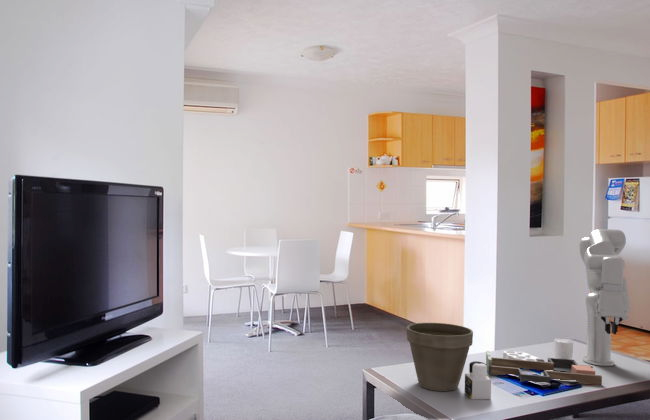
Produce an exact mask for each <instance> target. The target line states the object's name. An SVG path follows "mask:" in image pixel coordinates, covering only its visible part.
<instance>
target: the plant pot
mask: <svg viewBox="0 0 650 420" xmlns="http://www.w3.org/2000/svg"><path fill="white" fill-rule="evenodd" d="M473 337H474V331H473V330H472V329H471V328H469V327H465V326H463V325H458V324H452V323H445V322H444V323H443V322H417V323H412V324H408V325H407V326H406V340H407V341H408V342H409V345H410V351H411V355H412V361H413V364H414V369H415V373H416V377H417V381H418V384H419V386H420V387H422V388H425V389H426V390H429V391H430V390H431V391H436V392H451V391H456V390H457V389H458V387H459V386H460V382H461V378H462V376H463V371H464V368H465V365H466V361H467V357H468V353H469V351H470V347H471V346H473V342H474V341H473Z"/></svg>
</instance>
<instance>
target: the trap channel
mask: <svg viewBox="0 0 650 420" xmlns="http://www.w3.org/2000/svg"><path fill="white" fill-rule="evenodd" d="M485 353H486V354H485V358H486V359H485V360H486V361H485V362H486V363H485V364H486V365H487V375H488V376H497V375H506V374H515V375H519V378H520V381H519V383H520V382H523V381H536V382H548V383H550V384H551V381H550V379H560V380H576V381H578V382H579V383H578V384H582V385H583V384H585V385H595V386H602V384H603V383H602V382H603V376H602V375H598V374H595V375H590V374H579V373H571V369H572V365H579V363H578V362H576V360H575V359H572V360H569V359H557V358H555V357H547V361H545V362H540V361H528V360H517V359H505V358H503V357H492V356H491V353H490V350H489V351H488V350H487V351H486V352H485ZM580 365H581V366H587V365H584V364H580ZM589 366H590V367H591V368H592V369H593V370H594V367H593V365H589ZM520 368H526V369H525V370H529V369H537V370H536V371H540V370H544V371H543V375H539V374H538V375H537V374H525V373H523V371H522V369H520ZM546 370H553V371H546ZM554 370H556V371H554ZM560 371H565V372H560Z"/></svg>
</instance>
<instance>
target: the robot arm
mask: <svg viewBox="0 0 650 420" xmlns="http://www.w3.org/2000/svg"><path fill="white" fill-rule="evenodd" d="M626 243H627V237H626V235H625V233H624V231H622V230H620V229H607V228H606V229H605V228H604V229H603V228H598V229H595V230H593V231H591V232H590V233H589V236H588V237H583V238H581V239H580V241H579V245H578V247H579V254H580V258H581V260H582V262H583V263H584V266H585V271H586V272H585V273H586V280H587V281H586V282H587V283H586V284H587V287H588V290H589V291H590V293H588V294H587V295H586V297H585V306H586V307H585V308H586V313H587V323H586V324H587V328H586V329H587V330H586V332H587V336H586V355H585V356H583V357H582V361H583V362H584V363H587V364H590V365H592V366H593V365H594V366H599V367H611V366H612V367H613V366H614V365H615V361H614V360H612V359H611V358H612V357H611V356H612V354H611V353H612V334H613V335H617V333H618V325H619V324H620V323H622V321H625V320H628V319H629V317H628V314H630V311H631V303H630V295H629V289H628V288H629V287H628V283H627V279H626V278H625V276H624V270H625V265H626V264H625V260H624V258H623V257H621V256H619V255H620V254H621V252H622V251H623V250H624V249H625V246H626ZM611 317H612V318H613V321H612V323H611V322H610V318H611Z"/></svg>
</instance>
